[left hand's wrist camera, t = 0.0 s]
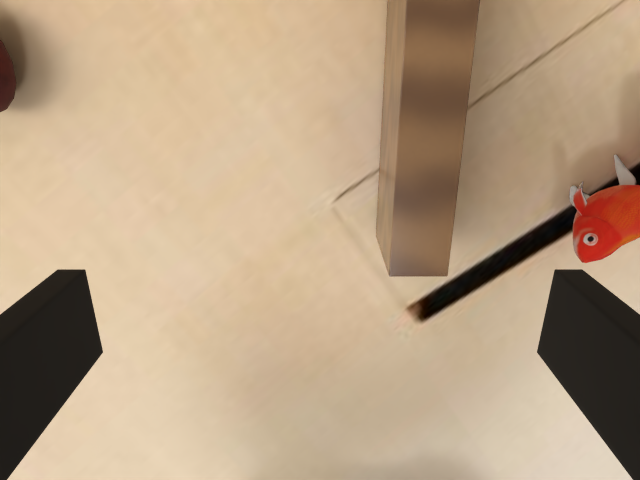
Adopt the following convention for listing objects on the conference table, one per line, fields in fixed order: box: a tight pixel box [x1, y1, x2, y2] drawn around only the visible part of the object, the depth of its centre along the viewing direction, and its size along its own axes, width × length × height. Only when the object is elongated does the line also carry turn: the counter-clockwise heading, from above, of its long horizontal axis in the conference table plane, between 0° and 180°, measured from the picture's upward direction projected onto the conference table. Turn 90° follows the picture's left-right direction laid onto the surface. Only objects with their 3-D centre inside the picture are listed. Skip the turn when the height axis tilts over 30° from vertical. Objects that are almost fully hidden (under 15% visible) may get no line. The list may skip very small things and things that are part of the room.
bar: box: [376, 0, 480, 276], centre depth 34 cm, size 24×4×8 cm, turn 0°
